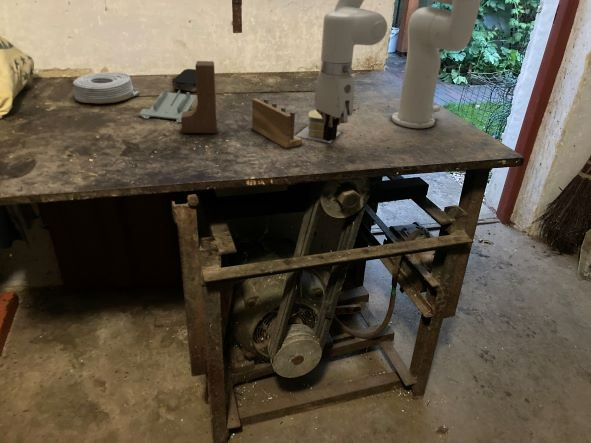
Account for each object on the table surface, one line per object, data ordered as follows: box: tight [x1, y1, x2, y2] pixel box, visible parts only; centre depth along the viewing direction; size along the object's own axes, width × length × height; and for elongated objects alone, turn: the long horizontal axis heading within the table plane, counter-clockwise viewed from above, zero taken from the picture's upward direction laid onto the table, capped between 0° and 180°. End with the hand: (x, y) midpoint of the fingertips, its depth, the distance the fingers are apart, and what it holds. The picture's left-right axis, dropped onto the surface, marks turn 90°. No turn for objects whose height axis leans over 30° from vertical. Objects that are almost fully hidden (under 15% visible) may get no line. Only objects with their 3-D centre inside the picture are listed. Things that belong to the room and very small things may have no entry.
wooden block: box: [180, 60, 218, 134], centre depth 126 cm, size 9×4×18 cm, turn 96°
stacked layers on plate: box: [295, 109, 341, 144], centre depth 131 cm, size 10×9×6 cm
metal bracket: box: [138, 89, 197, 123], centre depth 141 cm, size 14×6×15 cm
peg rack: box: [251, 97, 303, 149], centre depth 127 cm, size 5×16×8 cm, turn 37°
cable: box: [72, 71, 140, 104], centre depth 149 cm, size 18×18×6 cm
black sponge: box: [171, 68, 197, 93], centre depth 165 cm, size 16×8×4 cm, turn 172°
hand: (329, 139), depth 125 cm, fingers closed
